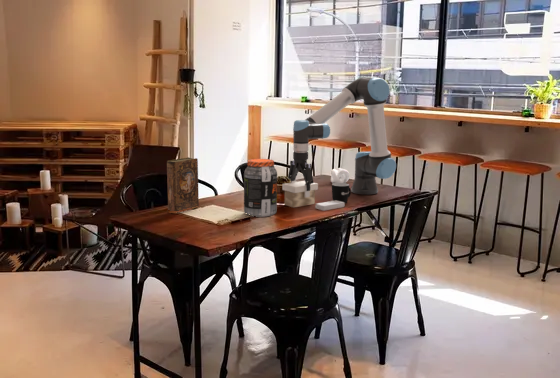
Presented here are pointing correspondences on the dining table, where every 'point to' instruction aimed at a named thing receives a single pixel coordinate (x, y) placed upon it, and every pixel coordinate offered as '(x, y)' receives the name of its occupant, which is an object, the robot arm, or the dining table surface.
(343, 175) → the white spiral shell
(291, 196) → the box
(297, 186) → the lid
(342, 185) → the mug
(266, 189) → the supplement tub
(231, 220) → the dining table surface
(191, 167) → the book
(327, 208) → the block
